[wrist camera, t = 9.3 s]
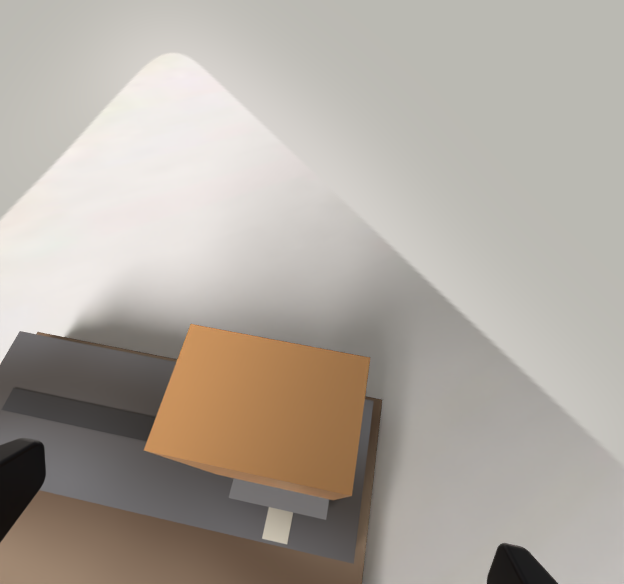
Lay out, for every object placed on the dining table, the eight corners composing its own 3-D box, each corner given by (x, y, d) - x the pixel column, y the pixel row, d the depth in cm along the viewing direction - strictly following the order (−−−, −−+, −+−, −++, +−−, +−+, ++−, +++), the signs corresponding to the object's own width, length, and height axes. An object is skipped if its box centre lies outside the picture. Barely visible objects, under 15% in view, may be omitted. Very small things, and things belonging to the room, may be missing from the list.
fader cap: (325, 518, 12) (346, 538, 5) (231, 498, 13) (129, 488, 5) (340, 420, 14) (374, 328, 7) (256, 403, 14) (200, 297, 7)
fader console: (328, 816, 12) (334, 908, 9) (-124, 683, 13) (-236, 730, 10) (376, 407, 17) (388, 389, 15) (57, 344, 19) (14, 317, 16)
